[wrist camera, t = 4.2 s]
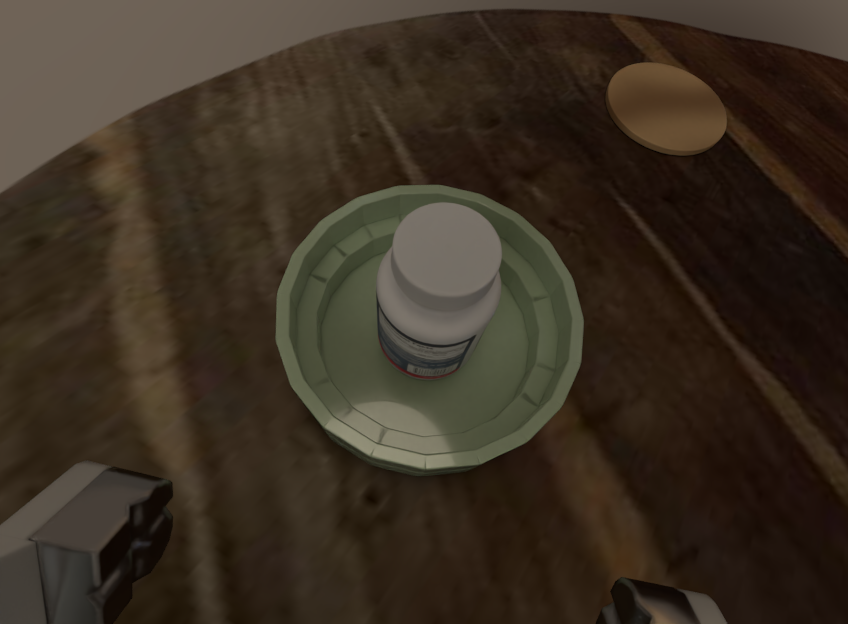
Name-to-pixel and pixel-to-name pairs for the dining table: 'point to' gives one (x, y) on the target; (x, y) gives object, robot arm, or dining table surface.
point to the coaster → (665, 109)
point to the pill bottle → (437, 289)
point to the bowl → (412, 398)
